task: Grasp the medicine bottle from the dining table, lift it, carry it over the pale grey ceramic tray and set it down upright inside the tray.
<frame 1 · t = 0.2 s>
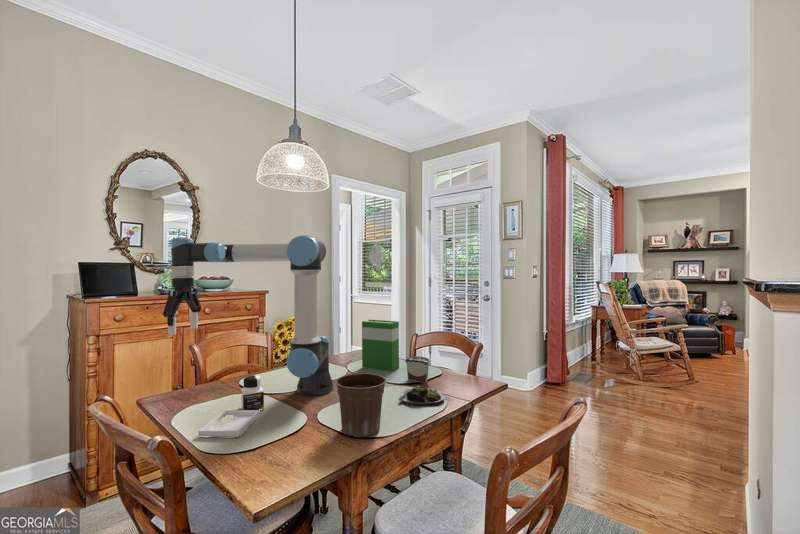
hand: (183, 331, 148), 28 cm above the table, fingers open, 13 cm apart
tray: (231, 426, 125), on the table
salad plate: (421, 400, 149), on the table
medicine bottle: (252, 409, 140), on the table
plant pot: (361, 430, 122), on the table
food container: (420, 380, 174), on the table
cereal box: (380, 368, 195), on the table
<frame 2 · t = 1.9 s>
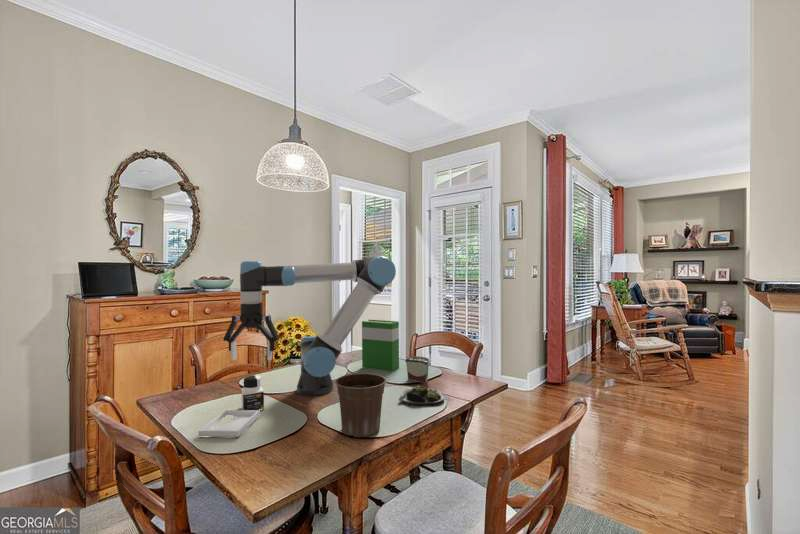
hand: (251, 359, 140), 18 cm above the table, fingers open, 13 cm apart
nothing on the table moved.
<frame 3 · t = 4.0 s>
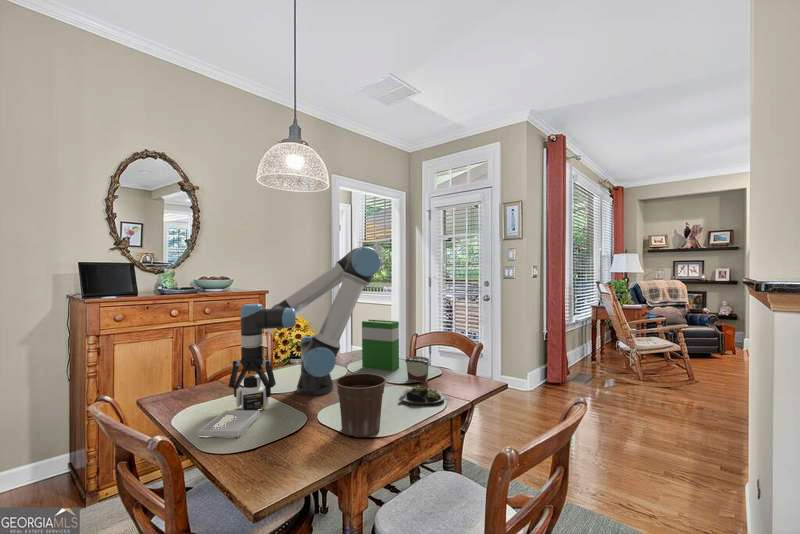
hand: (252, 405, 140), 1 cm above the table, fingers closed on medicine bottle, 9 cm apart
medicine bottle: (252, 409, 140), on the table, touching gripper
everything else where it was.
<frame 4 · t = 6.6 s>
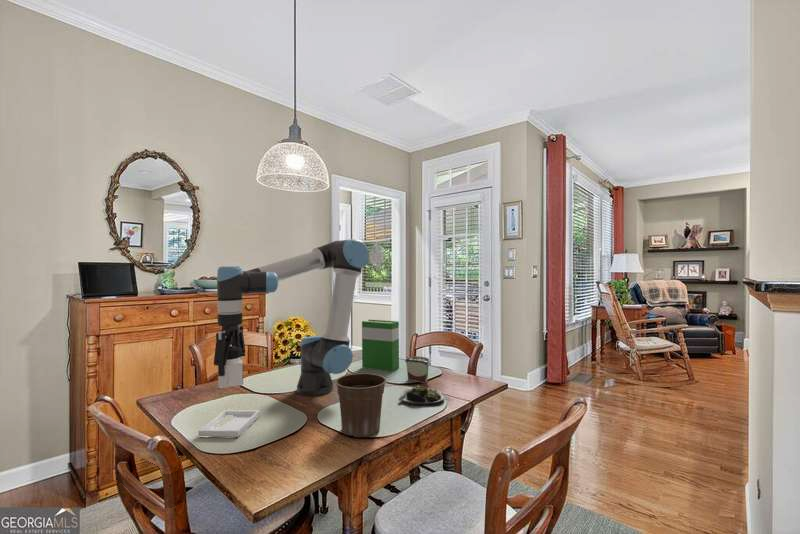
hand: (230, 380, 124), 15 cm above the table, fingers closed on medicine bottle, 9 cm apart
medicine bottle: (230, 384, 124), point 14 cm above the table, touching gripper
everything else where it was.
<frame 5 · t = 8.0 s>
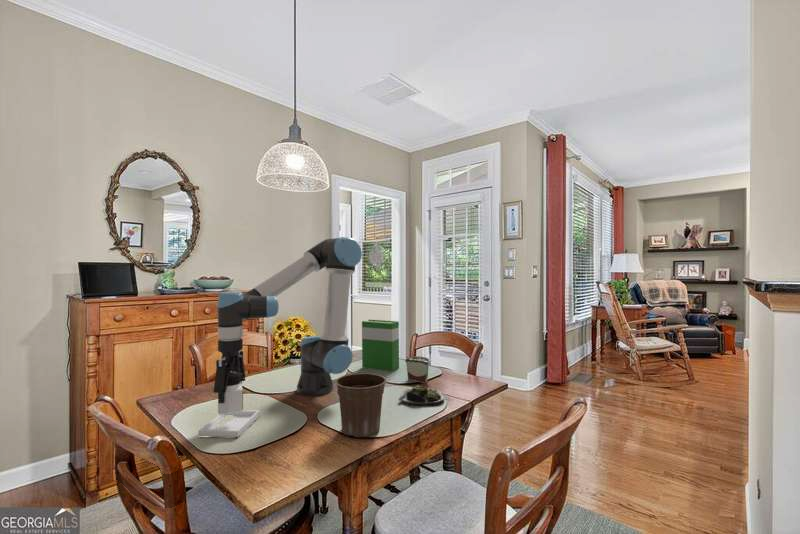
hand: (230, 406, 124), 7 cm above the table, fingers closed on medicine bottle, 9 cm apart
medicine bottle: (230, 410, 124), point 5 cm above the table, touching gripper
everything else where it was.
when the fingers open (4 cm above the table, at t = 9.2 s): medicine bottle drops 2 cm, resting on tray.
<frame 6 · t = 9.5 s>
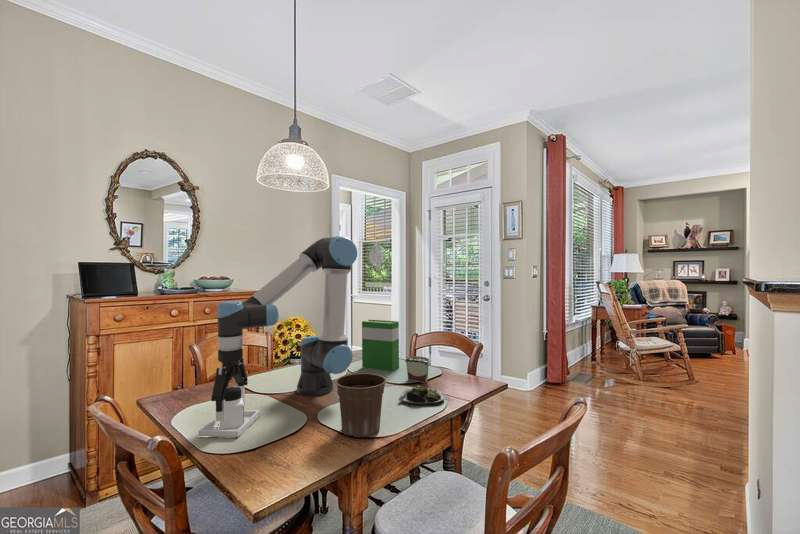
hand: (231, 412, 125), 5 cm above the table, fingers open, 13 cm apart
medicine bottle: (231, 424, 125), resting on tray
everything else where it was.
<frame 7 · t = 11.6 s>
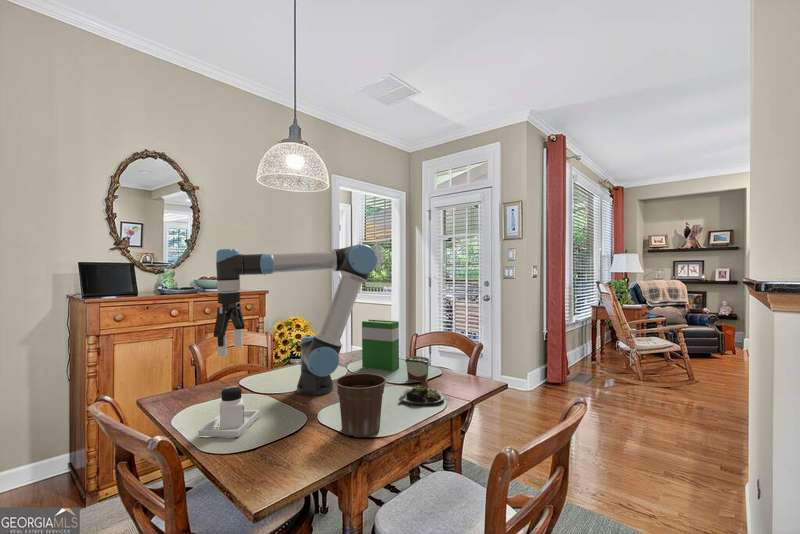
hand: (230, 350, 135), 23 cm above the table, fingers open, 13 cm apart
nothing on the table moved.
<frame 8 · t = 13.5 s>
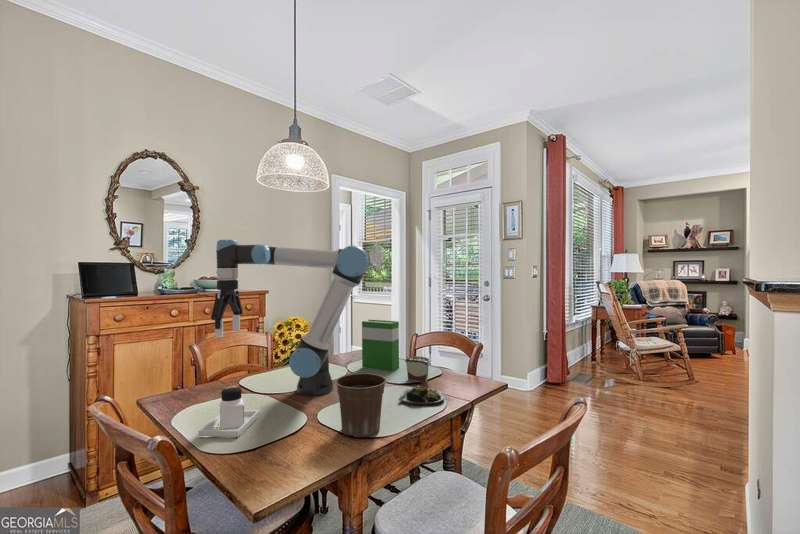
hand: (228, 334, 146), 27 cm above the table, fingers open, 13 cm apart
nothing on the table moved.
at the end: medicine bottle inside the target area on the tray (0.4 cm from its centre), point 0.4 cm above the tray's base; medicine bottle tilted 0°; the gripper is holding nothing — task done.
